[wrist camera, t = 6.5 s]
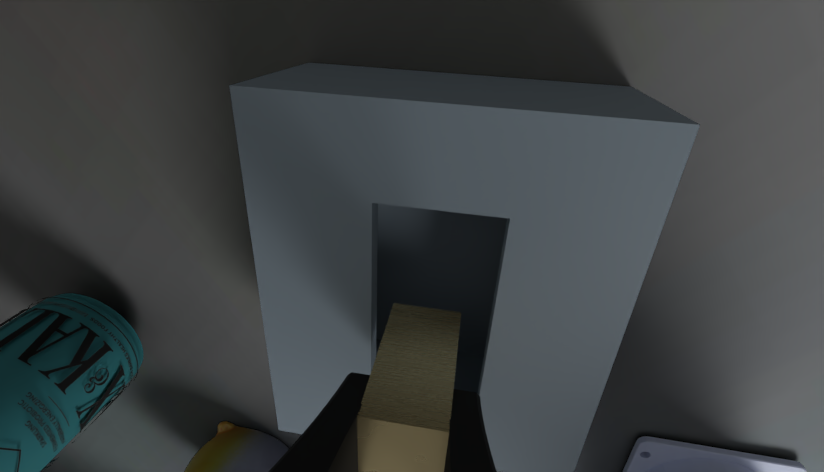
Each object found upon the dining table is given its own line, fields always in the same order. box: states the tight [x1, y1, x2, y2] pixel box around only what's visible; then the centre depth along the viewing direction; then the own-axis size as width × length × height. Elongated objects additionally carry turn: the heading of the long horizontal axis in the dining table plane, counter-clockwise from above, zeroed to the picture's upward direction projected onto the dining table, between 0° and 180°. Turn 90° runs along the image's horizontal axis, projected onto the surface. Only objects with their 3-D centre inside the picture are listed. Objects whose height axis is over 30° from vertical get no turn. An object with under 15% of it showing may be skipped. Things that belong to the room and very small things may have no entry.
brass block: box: [357, 303, 461, 472], centre depth 12 cm, size 4×2×4 cm, turn 178°
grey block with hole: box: [229, 63, 700, 472], centre depth 17 cm, size 14×12×6 cm
